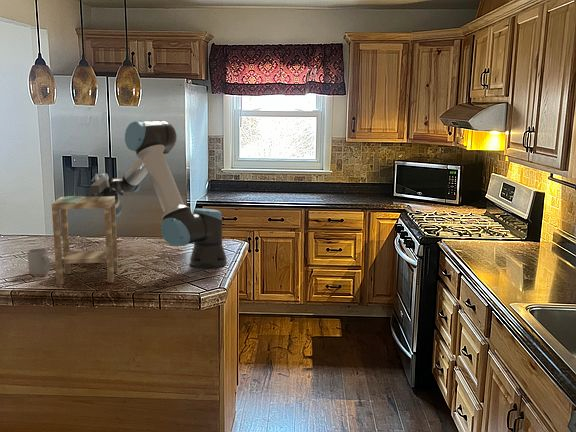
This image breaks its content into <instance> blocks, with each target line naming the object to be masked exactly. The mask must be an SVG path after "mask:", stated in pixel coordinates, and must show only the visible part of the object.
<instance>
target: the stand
mask: <svg viewBox="0 0 576 432" xmlns="http://www.w3.org/2000/svg"><path fill="white" fill-rule="evenodd" d="M84 209H85V210H87V209H88V210H89V209H92V210H94V209H95V210H96V209H97V210H98V209H103V211H104V213H103V214H104V230H105V250H89V251H87V250H86V251H83V250H82V251H81V250H79V251H71V250H70V249H71V248H70V237H69V236H70V234H69V233H70V231H69V218H68V216H69V214H68V210H84ZM51 217H52V229H53V230H52V231H53V245H54V247H53V248H54V262H55V263H54V264H55V276H56V277H55V278H56V285H63V284H64V282H65V280H64V274H65V275H67V274H68V275H69V274H71V273H72V265H71V264H89V263H90V264H95V263H106V272H107V273H106V274H107V276H106V277H107V283H114V282H115V275H114V273H117V272H119V259H118V257H119V256H118V238H117V234H118V233H117V217H116V209H115V196H97V195H95V196H83V195H66V196H60V197H59V198H57V199H56V200H54V202H52V203H51ZM60 219H61V220H60ZM62 251H63V252H62Z"/></svg>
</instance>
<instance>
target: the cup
mask: <svg viewBox="0 0 576 432" xmlns="http://www.w3.org/2000/svg"><path fill="white" fill-rule="evenodd" d="M48 253H49V252H48V249H47V248H32V249H28V250H27V263H28V265H27V266H28V273H29V275H31V276H40V275H46V274H48V273H49V271H50V269H51V259H50V257H49V255H48Z"/></svg>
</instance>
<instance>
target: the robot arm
mask: <svg viewBox="0 0 576 432" xmlns="http://www.w3.org/2000/svg"><path fill="white" fill-rule="evenodd" d="M177 135H178V134H177V132H176V129H175V128H174V126H173V125H172V124H171V123H170V122H167V121H166V120H138V121H136V120H135V121H131V123H129V124H128V125H127V127H126V129H125V133H124V142H125V146H126V148H127V149H128V150H130V151H132V152H134V151H135V153H136V156H137V158H136V160H135V161H134V163H133V164H132V165H131V166H130V167H129V169H128V170H127V171H126V172H125V173H124V175H122V176H121V177H113V178H112V177H111V178H109V177H110V176H109V174H108V173H99V174H98V173H95V174H94V175H95V176H93V178H92V179H91V181H90V186H91V185H92V184H93V183H94V182H96V181H97V180H98V179H99V178H101V177H105V181H106V184H107V187H106V188H105V189H104V190H103V191H102V192H101V193H100V194H91V193H90V197H95V196H115V209H116V218H118V217H119V216H120V215H121V214H122V212H123V206H122V204H121V200H120V197H119V196H124V194H133V193H135V192H139V190H140V189H141V187H142V183H141V182H142V180H143V179H144V178H145V177H146V176H147V175H148V176H149V179H150V181H151V184H152V186H153V189H154V191H155V193H156V196H157V198H158V200H159V204H160V206H161V208H162V211H163V215H162V216H161V219H162V221H161V224H160V227H161V228H160V232H161V233H160V235H161V236H162V238H163V240H164V241H165V242H166V243H167V245H170V246H172V247H185V246H187V245H190V244H193V249H192V252H191V255H190V258H189V263H190V265H191V266H193V267H195V268H202V269H205V268H206V269H209V268H210V269H212V268H218V267H223V266H226V265H227V261H228V260H227V256H226V252H225V250H224V249H225V248H224V247H223V216H222V215H223V214H222V212H221V210H217V209H211V208H199V207H197V208H193V211H192V209H191V208H190V206H187V205H185V203H184V201H183V197H182V196H181V193H180V191H179V188H178V186H177V183H176V182H175V181H176V180H175V179H174V176H173V174H172V172H171V167H170V166H169V164H168V162H167V159H166V157H165V155H168V154H169V153H170V152H171V151H172V149H173V148H174V147H175V145H176V143H177V139H178V137H177Z"/></svg>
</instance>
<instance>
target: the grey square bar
mask: <svg viewBox="0 0 576 432" xmlns="http://www.w3.org/2000/svg"><path fill="white" fill-rule="evenodd" d="M89 187H90V195H91V194H100V193H101V192H102V191H103V190H104V189H105V188H106V187H107V184H106V181H105V177H101V178H99V179H98V180H97V181H96V182H94V183H93V184H92V185H91V184H90V186H89Z"/></svg>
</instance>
